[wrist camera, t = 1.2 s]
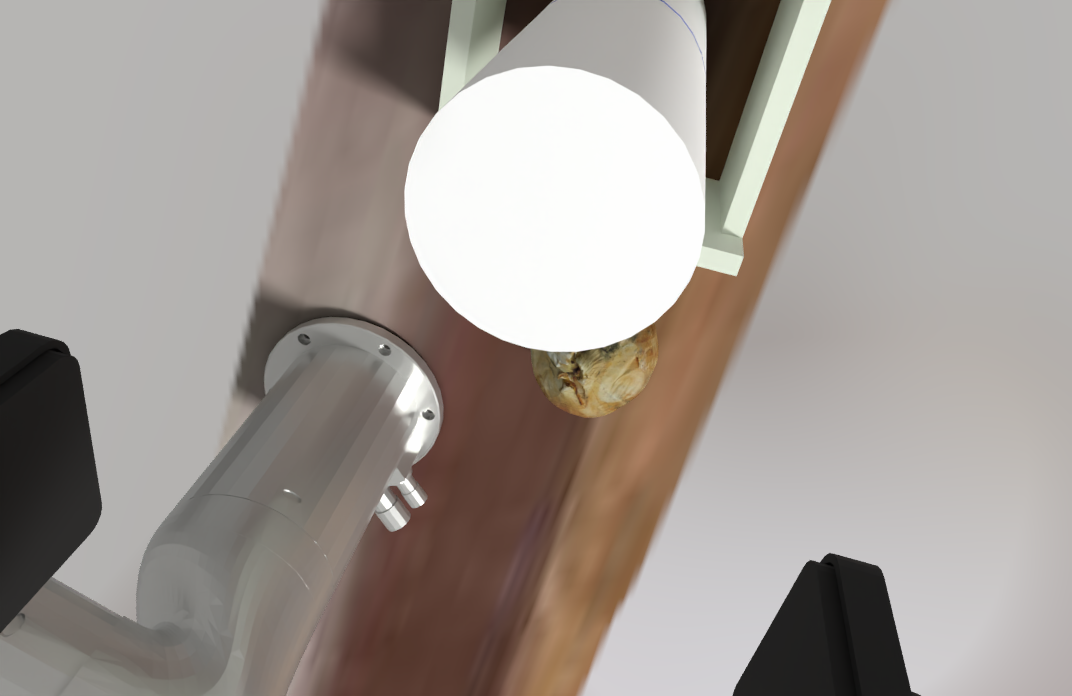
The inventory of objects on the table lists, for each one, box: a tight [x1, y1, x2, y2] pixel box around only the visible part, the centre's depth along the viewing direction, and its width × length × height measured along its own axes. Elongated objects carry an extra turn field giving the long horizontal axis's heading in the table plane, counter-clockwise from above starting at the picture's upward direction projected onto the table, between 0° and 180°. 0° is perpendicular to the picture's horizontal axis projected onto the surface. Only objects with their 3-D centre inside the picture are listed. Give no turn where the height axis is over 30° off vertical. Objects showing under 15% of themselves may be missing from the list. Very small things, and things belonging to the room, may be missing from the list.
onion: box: [530, 323, 658, 418], centre depth 45 cm, size 8×8×8 cm
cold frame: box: [439, 0, 831, 276], centre depth 36 cm, size 15×15×9 cm
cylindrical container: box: [405, 0, 706, 352], centre depth 29 cm, size 7×7×25 cm
